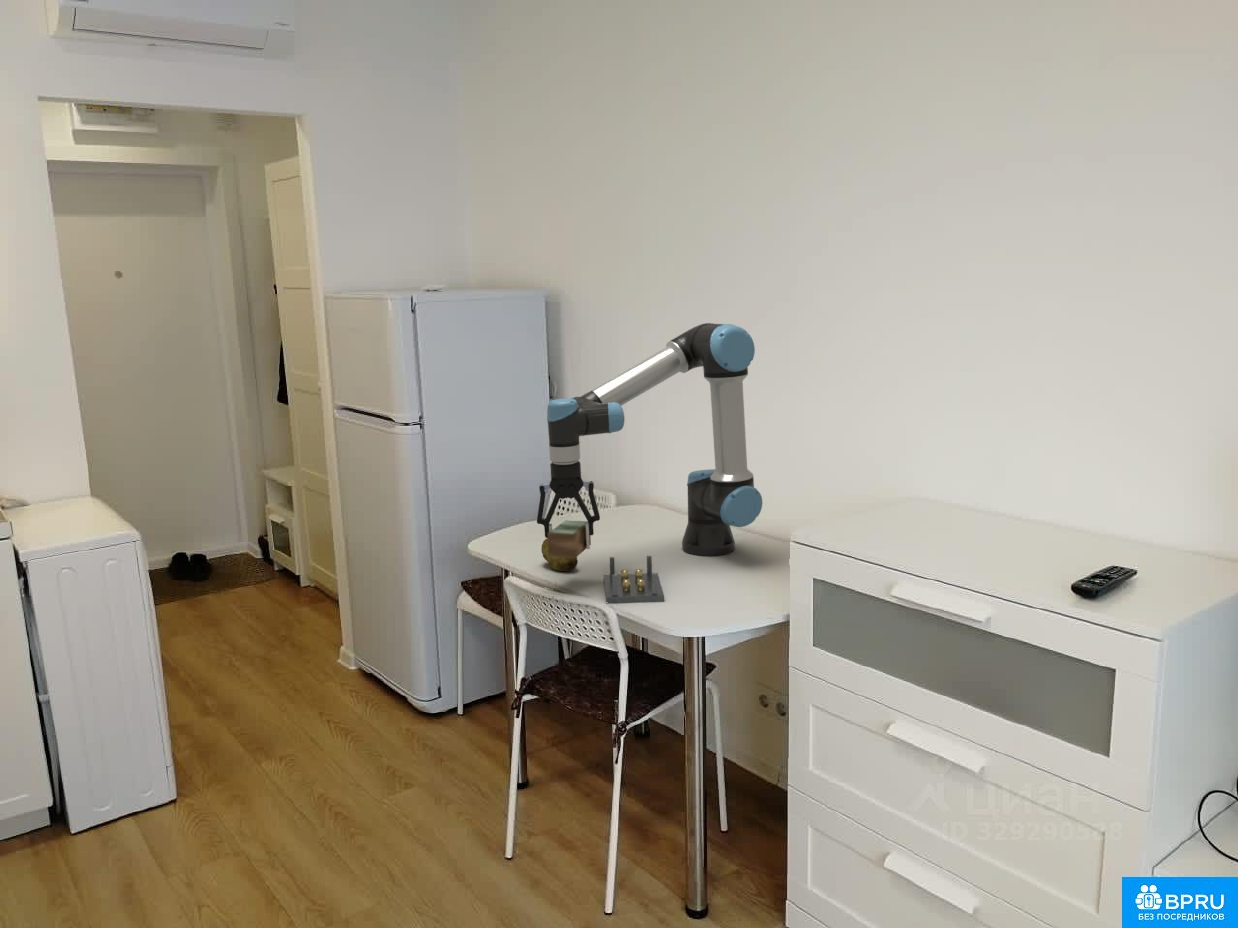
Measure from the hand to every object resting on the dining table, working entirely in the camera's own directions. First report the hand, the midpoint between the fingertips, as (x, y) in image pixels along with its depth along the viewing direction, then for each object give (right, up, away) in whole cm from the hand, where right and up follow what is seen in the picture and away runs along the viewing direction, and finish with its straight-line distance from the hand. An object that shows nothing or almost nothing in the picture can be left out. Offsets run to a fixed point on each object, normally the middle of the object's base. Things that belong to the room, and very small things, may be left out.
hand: (570, 548), depth 248 cm
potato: (-4, -7, +18) cm, 20 cm away
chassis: (+16, -10, -3) cm, 19 cm away
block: (0, -1, 0) cm, 1 cm away
